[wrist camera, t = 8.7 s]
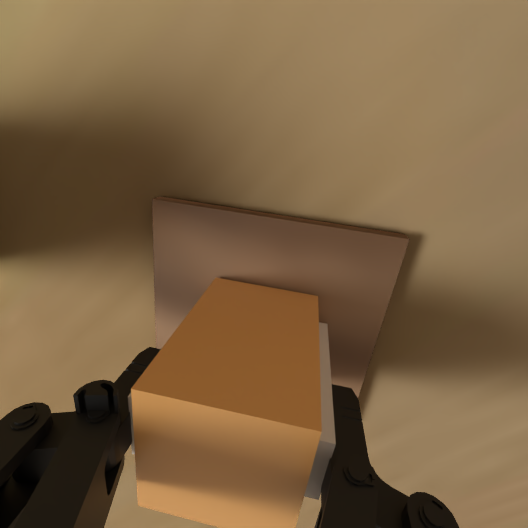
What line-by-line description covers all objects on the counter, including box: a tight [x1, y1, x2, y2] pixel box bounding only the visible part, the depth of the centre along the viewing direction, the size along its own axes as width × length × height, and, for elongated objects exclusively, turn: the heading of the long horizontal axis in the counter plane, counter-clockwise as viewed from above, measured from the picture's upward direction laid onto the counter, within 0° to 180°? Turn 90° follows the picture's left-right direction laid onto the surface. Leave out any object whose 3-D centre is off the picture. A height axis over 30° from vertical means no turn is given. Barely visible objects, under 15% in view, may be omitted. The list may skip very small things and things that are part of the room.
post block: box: [152, 197, 410, 398], centre depth 13 cm, size 12×12×8 cm
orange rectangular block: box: [131, 278, 322, 528], centre depth 12 cm, size 5×5×8 cm
